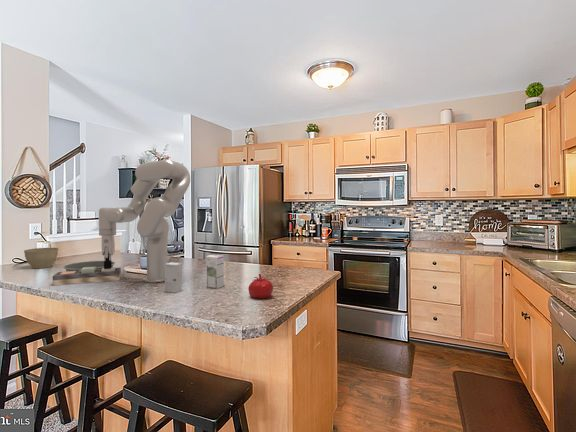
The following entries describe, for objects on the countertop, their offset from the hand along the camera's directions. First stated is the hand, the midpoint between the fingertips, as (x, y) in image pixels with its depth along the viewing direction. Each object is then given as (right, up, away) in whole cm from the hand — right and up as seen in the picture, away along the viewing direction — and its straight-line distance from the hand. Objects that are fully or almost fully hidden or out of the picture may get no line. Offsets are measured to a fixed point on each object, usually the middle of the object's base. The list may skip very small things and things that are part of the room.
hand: (107, 268), depth 157 cm
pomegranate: (+80, -7, -30) cm, 86 cm away
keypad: (-7, -6, -3) cm, 10 cm away
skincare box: (+41, -6, -22) cm, 47 cm away
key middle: (-7, -1, -3) cm, 8 cm away
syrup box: (+58, -6, -15) cm, 60 cm away
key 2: (0, -2, 0) cm, 2 cm away
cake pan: (-20, -5, +18) cm, 27 cm away
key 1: (-15, -3, -7) cm, 17 cm away
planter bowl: (-57, -5, +30) cm, 65 cm away
